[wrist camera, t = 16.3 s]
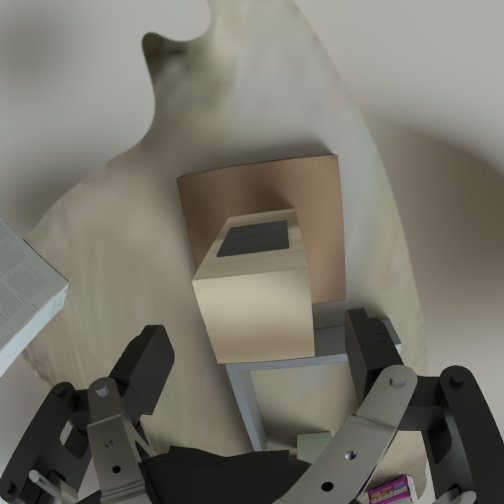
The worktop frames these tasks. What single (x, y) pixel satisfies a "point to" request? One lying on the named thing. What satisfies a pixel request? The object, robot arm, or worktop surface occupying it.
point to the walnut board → (272, 199)
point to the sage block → (312, 445)
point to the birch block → (257, 290)
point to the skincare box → (24, 294)
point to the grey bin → (326, 351)
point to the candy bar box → (394, 492)
